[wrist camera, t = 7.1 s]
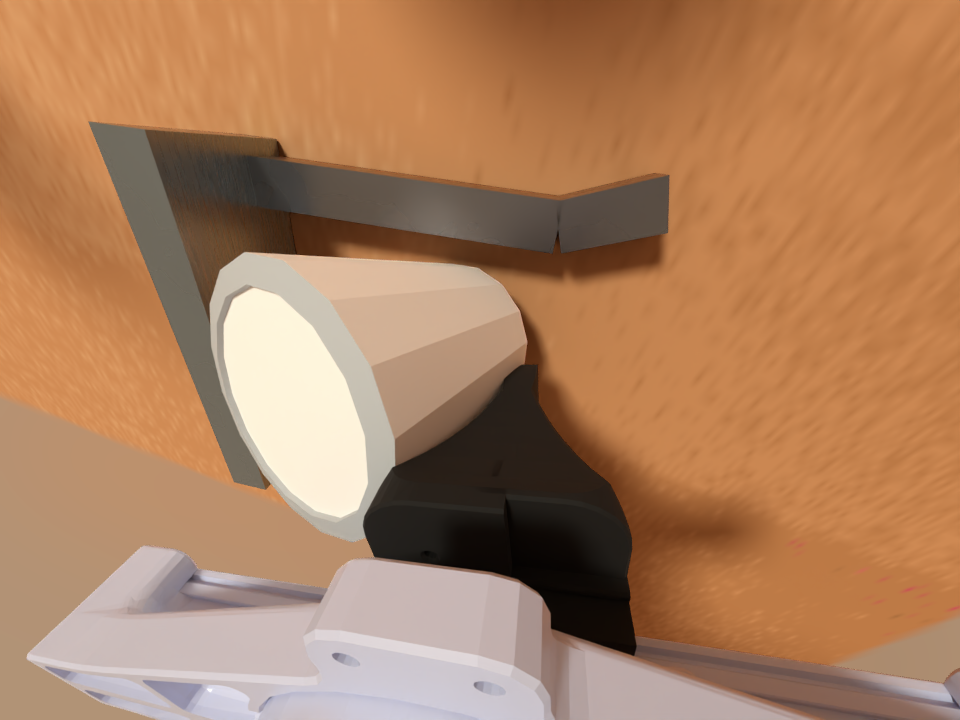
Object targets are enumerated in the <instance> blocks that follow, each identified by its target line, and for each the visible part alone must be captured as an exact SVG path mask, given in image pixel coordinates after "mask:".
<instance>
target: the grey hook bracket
mask: <svg viewBox="0 0 960 720" xmlns="http://www.w3.org/2000/svg"><path fill="white" fill-rule="evenodd" d="M89 124H90V127H91V129H92V132H93V134H94V137H95V139H96V142H97V144H98V147H99V149H100V152H101V154H102V157H103V159H104V162H105V164H106V166H107V169H108V171H109V174H110V176H111V179H112V181H113V184H114V186H115V189H116V191H117V194H118V196H119V199H120V201H121V204H122V206H123V209H124V211H125V213H126V216H127V218H128V221H129V223H130V226H131V228H132V231H133V233H134V236H135V238H136V241H137V243H138V246H139V248H140V251H141V253H142V255H143V258H144V260H145V263H146V265H147V268H148V270H149V273H150V275H151V278H152V280H153V283H154V285H155V288H156V290H157V293H158V295H159V298H160V300H161V302H162V305H163V307H164V310H165V312H166V315H167V317H168V320H169V322H170V325H171V327H172V330H173V332H174V335H175V337H176V340H177V342H178V345H179V347H180V349H181V352H182V354H183V357H184V359H185V362H186V364H187V367H188V369H189V372H190V374H191V377H192V379H193V382H194V384H195V387H196V389H197V392H198V394H199V396H200V399H201V401H202V404H203V406H204V409H205V411H206V414H207V416H208V419H209V421H210V424H211V426H212V429H213V431H214V434H215V436H216V439H217V441H218V443H219V446H220V448H221V451H222V453H223V456H224V458H225V461H226V463H227V466H228V468H229V471H230V473H231V476H232V478H233V481H234V482H236V483H240V484H244V485H248V486H252V487H257V488H261V489H265V490H266V489H267V488H268V486H269V485H270V484H271V483H270V482H269V481H268V479H267V478H266V477H265V476H264V475H263V473H262V471H261V470H260V468H259V466H258V464H257V463H256V461H255V459H254V458H253V456H252V454H251V453H250V451H249V449H248V448H247V446H246V444H245V442H244V441H243V439H242V437H241V436H240V434H239V431H238V429H237V426H236V424H235V422H234V419H233V417H232V414H231V412H230V409H229V407H228V405H227V402H226V400H225V397H224V395H223V392H222V389H221V385H220V381H219V377H218V373H217V368H216V364H215V360H214V356H213V352H212V348H211V328H210V301H211V298H212V295H213V291H214V288H215V285H216V282H217V278H218V275H219V272H220V270H221V269H222V268H223V267H225V266H226V265H228V264H229V263H230V262H232V261H233V260H234V259H236V258H237V257H238V256H240V255H241V254H243V253H244V252H252V253H270V254H288V255H296V252H295V246H294V240H293V234H292V228H291V222H290V216H289V212H293V213H299V214H306V215H312V216H318V217H324V218H331V219H337V220H343V221H350V222H356V223H362V224H369V225H375V226H381V227H388V228H394V229H400V230H407V231H413V232H419V233H425V234H432V235H438V236H444V237H451V238H457V239H463V240H470V241H476V242H482V243H489V244H495V245H501V246H508V247H514V248H520V249H526V250H533V251H539V252H545V253H552V254H553V249H554V245H555V240H556V236H557V231H559V240H560V248H561V253H567V252H572V251H577V250H582V249H587V248H593V247H598V246H603V245H608V244H613V243H619V242H624V241H629V240H634V239H639V238H645V237H650V236H655V235H660V234H665V233H668V208H669V175H665V174H657V173H653V174H649V175H645V176H641V177H636V178H632V179H628V180H624V181H619V182H615V183H611V184H607V185H603V186H598V187H594V188H590V189H586V190H582V191H577V192H573V193H569V194H565V195H560V196H556V195H549V194H542V193H535V192H528V191H521V190H514V189H507V188H500V187H493V186H486V185H479V184H472V183H465V182H458V181H451V180H444V179H437V178H430V177H423V176H416V175H409V174H402V173H395V172H388V171H381V170H374V169H367V168H360V167H353V166H346V165H339V164H331V163H324V162H317V161H310V160H303V159H296V158H289V157H282V156H279V151H278V145H277V139H271V138H263V137H256V136H249V135H242V134H233V133H221V132H209V131H196V130H184V129H172V128H160V127H148V126H136V125H124V124H112V123H100V122H89Z"/></svg>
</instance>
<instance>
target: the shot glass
mask: <svg viewBox="0 0 960 720" xmlns="http://www.w3.org/2000/svg"><path fill="white" fill-rule="evenodd" d="M210 328H211V348H212V352H213V356H214V360H215V364H216V368H217V373H218V377H219V381H220V385H221V389H222V392H223V395H224V397H225V400H226V402H227V405H228V407H229V409H230V412H231V414H232V417H233V419H234V422H235V424H236V426H237V429H238V431H239V434H240V436H241V437H242V439H243V441H244V442H245V444H246V446H247V448H248V449H249V451H250V453H251V454H252V456H253V458H254V459H255V461H256V463H257V464H258V466H259V468H260V470H261V471H262V473H263V475H264V476H265V477H266V478H267V479H268V481H269V482H270V483H271V484H272V485H273V487H274V488H275V489H276V490H277V492H278V493H279V494H280V495H281V496H282V498H283V499H284V500H285V501H286V502H287V504H288V505H289V506H290V507H291V508H292V509H293V510H294V511H296V512H297V513H298V514H299V515H301V516H302V517H303V518H304V519H306V520H307V521H308V522H309V523H311V524H312V525H313V526H314V527H316V528H317V529H318V530H319V531H321V532H323V533H326V534H329V535H332V536H335V537H338V538H341V539H344V540H347V541H350V542H355V541H358V540H361V539H364V538H366V536H365V533H364V529H363V520H364V516H365V514H366V512H367V510H368V508H369V506H370V504H371V503H372V501H373V499H374V497H375V495H376V493H377V491H378V489H379V487H380V486H381V484H382V482H383V481H384V479H385V478H386V476H387V475H388V473H389V472H390V470H391V468H392V467H394V466H397V465H399V464H401V463H403V462H406V461H408V460H410V459H412V458H414V457H416V456H419V455H421V454H423V453H425V452H426V451H428V450H430V449H432V448H434V447H435V446H437V445H439V444H440V443H442V442H444V441H445V440H447V439H449V438H450V437H451V436H453V435H454V434H456V433H457V432H458V431H460V430H461V429H463V428H464V427H465V426H467V425H468V424H469V423H470V422H471V421H473V420H474V419H475V418H476V417H477V416H478V415H479V414H480V413H481V412H482V411H483V410H484V409H485V408H486V407H487V406H488V405H489V404H490V403H491V402H492V401H493V400H494V399H495V397H496V396H497V395H498V394H499V393H500V391H501V390H502V389H503V382H504V378H505V377H506V376H508V375H509V374H510V373H511V372H512V371H513V370H514V369H516V368H517V367H519V366H520V365H524V364H525V356H526V349H527V338H526V334H525V330H524V326H523V322H522V318H521V313H520V310H519V309H518V307H517V306H516V304H515V303H514V301H513V300H512V298H511V297H510V295H509V294H508V292H507V291H506V289H505V288H504V286H503V285H502V284H501V283H499V282H498V281H497V280H495V279H494V278H492V277H491V276H489V275H488V274H486V273H485V272H483V271H482V270H480V269H479V268H476V267H470V266H463V265H457V264H447V263H429V262H411V261H394V260H376V259H358V258H341V257H323V256H305V255H288V254H270V253H252V252H244V253H243V254H241V255H240V256H238V257H237V258H236V259H234V260H233V261H232V262H230V263H229V264H228V265H226V266H225V267H223V268H222V269H221V270H220V272H219V275H218V278H217V282H216V285H215V288H214V291H213V295H212V298H211V301H210Z"/></svg>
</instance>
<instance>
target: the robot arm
mask: <svg viewBox="0 0 960 720" xmlns="http://www.w3.org/2000/svg"><path fill="white" fill-rule="evenodd" d="M363 529H364V533H365V536H366V539H367V541H368V543H369V545H370V548H371V550H372V552H373V555H374V557H373V558H355V559H353V560H350V561H348V562H347V563H346V564H344V565H343V566H342V567H340V568H339V569H338V570H337V572H336V574H335V576H334V578H333V580H332V582H331V584H330V586H329V588H321V587H315V586H308V585H301V584H294V583H289V582H282V581H276V580H269V579H263V578H256V577H249V576H243V575H236V574H230V573H223V572H217V571H210V570H204V569H197V565H196V564H195V562H194V561H193V560H192V559H191V557H189V556H188V555H187V554H186V553H184V552H182V551H180V550H176V549H172V548H165V547H158V546H151V545H145V546H142V547H141V548H140V549H139V550H138V551H136V553H134V554H133V555H132V556H131V557H130V558H129V559H128V560H127V561H126V562H125V563H124V564H123V565H122V566H120V567H119V569H117V570H116V571H115V572H114V573H113V574H112V575H111V576H110V577H109V578H108V579H107V580H106V581H104V582H103V583H102V584H101V585H100V586H99V587H98V588H97V589H96V590H95V591H94V592H93V593H92V594H91V595H90V596H89V597H88V598H86V599H85V600H84V601H83V602H82V603H81V604H80V605H79V606H78V607H77V608H76V609H75V610H74V611H73V612H72V613H70V614H69V615H68V616H67V617H66V618H65V619H64V620H63V621H62V622H61V623H60V624H59V625H58V626H57V627H56V628H55V629H53V630H52V631H51V632H50V633H49V634H48V635H47V636H46V637H45V638H44V639H43V640H42V641H41V642H40V643H39V644H37V646H35V648H33V649H32V650H31V651H30V652H29V653H28V655H27V660H29V661H30V662H32V663H34V664H36V665H37V666H39V667H41V668H42V669H44V670H46V671H48V672H49V673H51V674H53V675H54V676H56V677H58V678H60V679H61V680H63V681H65V682H66V683H68V684H70V685H72V686H73V687H75V688H77V689H78V690H80V691H82V692H84V693H85V694H87V695H89V696H90V697H92V698H94V699H96V700H97V701H99V702H101V703H103V704H107V705H110V706H114V707H117V708H121V709H124V710H127V711H131V712H135V713H137V714H141V715H144V716H147V717H150V718H153V719H156V720H960V668H958V669H956V670H955V671H953V672H952V673H951V674H950V675H949V676H948V677H947V678H946V680H945V682H944V683H940V682H933V681H926V680H920V679H914V678H907V677H901V676H894V675H888V674H881V673H875V672H868V671H862V670H855V669H849V668H842V667H836V666H829V665H823V664H816V663H810V662H803V661H797V660H790V659H784V658H777V657H771V656H764V655H758V654H751V653H745V652H738V651H732V650H725V649H719V648H712V647H705V646H699V645H692V644H686V643H679V642H673V641H666V640H660V639H653V638H647V637H640V636H635V633H634V628H633V622H632V617H631V611H630V605H629V602H630V590H629V584H628V579H627V574H628V568H629V563H630V558H631V552H632V537H631V533H630V529H629V526H628V523H627V520H626V517H625V515H624V512H623V510H622V508H621V505H620V503H619V501H618V499H617V497H616V495H615V493H614V491H613V489H612V487H611V485H610V483H608V482H607V481H606V480H605V479H604V478H602V477H601V476H600V475H599V474H597V473H596V472H595V471H594V470H592V469H591V468H590V467H589V466H588V465H587V464H586V463H585V462H583V461H582V460H581V459H580V458H579V457H578V456H577V455H576V454H575V452H574V451H573V450H572V449H571V448H570V447H569V446H568V445H567V444H566V442H565V441H564V440H563V439H562V438H561V437H560V435H559V434H558V433H557V431H556V430H555V429H554V427H553V426H552V424H551V423H550V421H549V420H548V418H547V417H546V415H545V413H544V411H543V410H542V408H541V406H540V404H539V400H538V365H520V366H519V367H517V368H516V369H514V370H513V371H512V372H511V373H510V374H509V375H508V376H506V377H505V378H504V382H503V389H502V390H501V391H500V393H499V394H498V395H497V396H496V397H495V399H494V400H493V401H492V402H491V403H490V404H489V405H488V406H487V407H486V408H485V409H484V410H483V411H482V412H481V413H480V414H479V415H478V416H477V417H476V418H475V419H474V420H473V421H471V422H470V423H469V424H468V425H467V426H465V427H464V428H463V429H461V430H460V431H458V432H457V433H456V434H454V435H453V436H451V437H450V438H449V439H447V440H445V441H444V442H442V443H440V444H439V445H437V446H435V447H434V448H432V449H430V450H428V451H426V452H425V453H423V454H421V455H419V456H416V457H414V458H412V459H410V460H408V461H406V462H403V463H401V464H399V465H397V466H394V467H392V468H391V470H390V472H389V473H388V475H387V476H386V478H385V479H384V481H383V482H382V484H381V486H380V487H379V489H378V491H377V493H376V495H375V497H374V499H373V501H372V503H371V504H370V506H369V508H368V510H367V512H366V514H365V516H364V520H363Z"/></svg>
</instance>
